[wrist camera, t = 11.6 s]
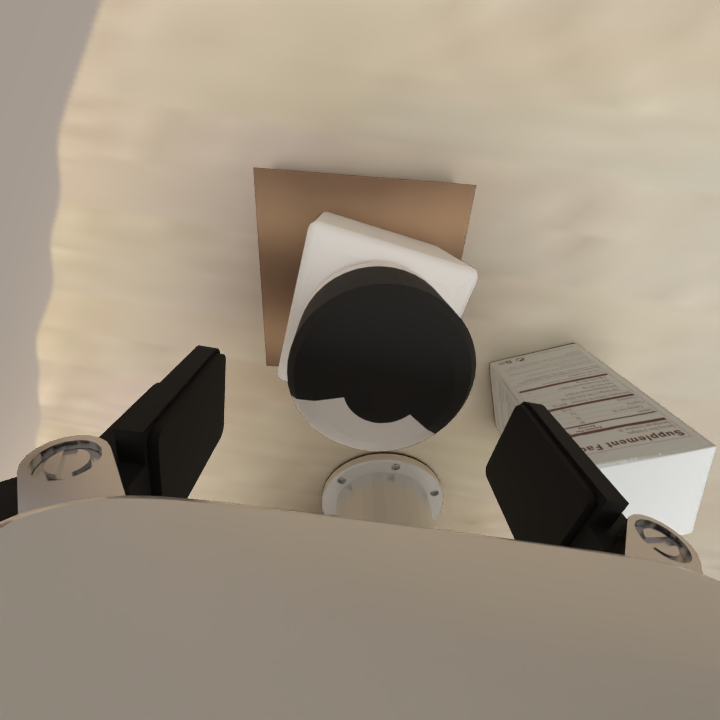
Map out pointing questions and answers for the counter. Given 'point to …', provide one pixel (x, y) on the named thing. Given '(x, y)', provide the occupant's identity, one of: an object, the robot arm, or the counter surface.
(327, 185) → the walnut block
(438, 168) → the counter surface
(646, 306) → the counter surface
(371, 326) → the medicine bottle
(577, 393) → the supplement box
